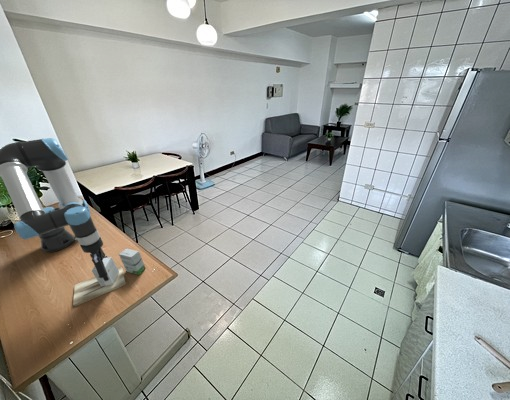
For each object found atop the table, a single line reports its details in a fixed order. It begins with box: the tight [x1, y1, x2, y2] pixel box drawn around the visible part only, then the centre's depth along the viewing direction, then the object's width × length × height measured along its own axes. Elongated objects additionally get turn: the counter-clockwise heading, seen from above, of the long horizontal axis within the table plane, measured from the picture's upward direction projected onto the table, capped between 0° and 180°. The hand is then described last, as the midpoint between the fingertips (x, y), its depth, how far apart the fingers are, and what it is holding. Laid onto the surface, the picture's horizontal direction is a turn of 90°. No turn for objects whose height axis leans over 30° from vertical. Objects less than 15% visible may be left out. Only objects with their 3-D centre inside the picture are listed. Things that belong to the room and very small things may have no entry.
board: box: [72, 266, 126, 308], centre depth 102 cm, size 13×20×1 cm, turn 124°
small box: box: [91, 256, 119, 286], centre depth 101 cm, size 8×6×10 cm
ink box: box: [118, 248, 146, 276], centre depth 107 cm, size 9×5×12 cm, turn 71°
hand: (108, 277), depth 103 cm, fingers closed on small box, 9 cm apart
